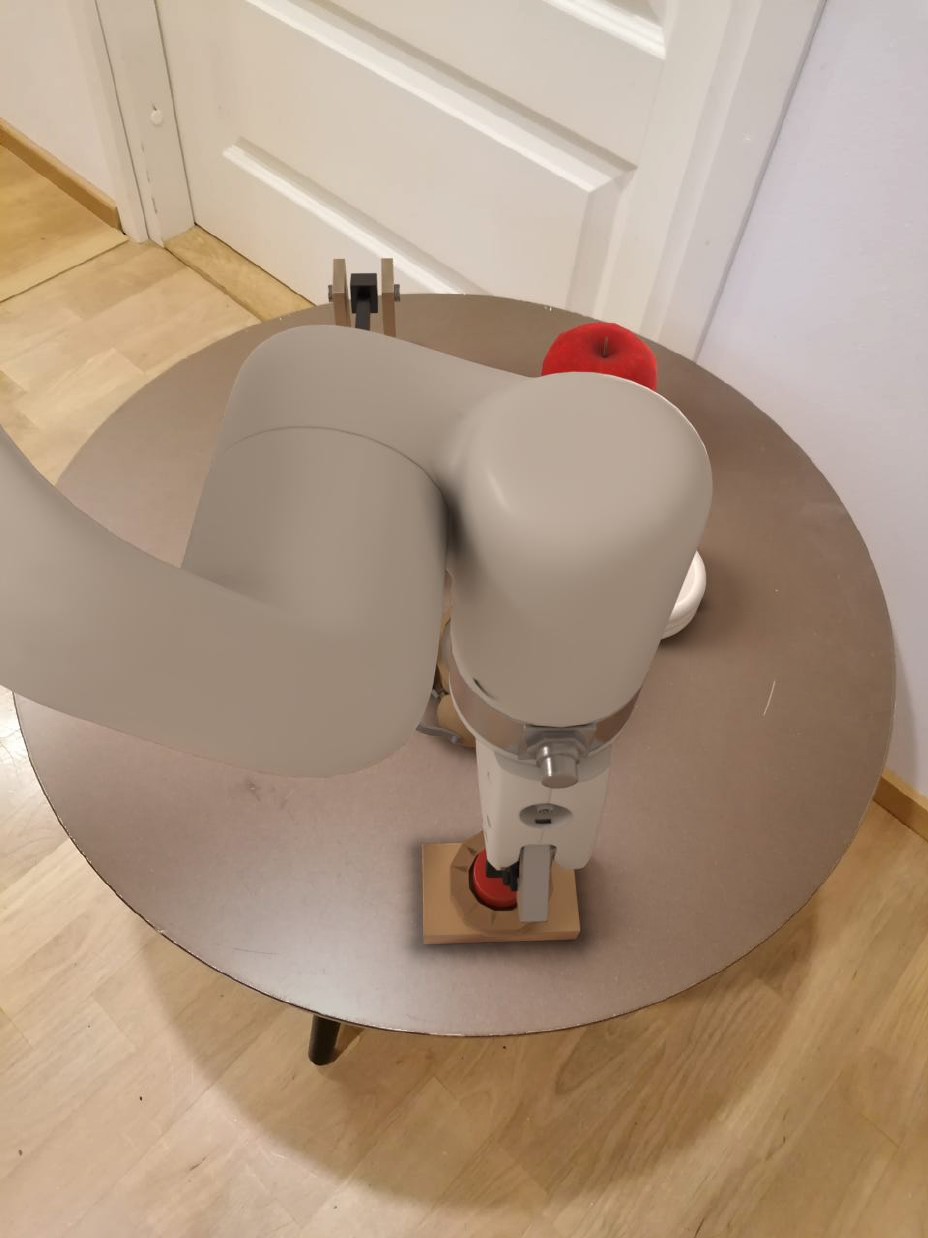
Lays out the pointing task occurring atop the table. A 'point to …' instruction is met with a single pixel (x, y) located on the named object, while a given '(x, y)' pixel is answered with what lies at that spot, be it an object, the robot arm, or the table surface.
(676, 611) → the coaster
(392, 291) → the bracket
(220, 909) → the table surface
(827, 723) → the table surface
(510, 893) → the button
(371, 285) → the lever
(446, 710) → the alarm clock
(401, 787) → the table surface
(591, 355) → the apple
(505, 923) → the button block
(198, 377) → the table surface
